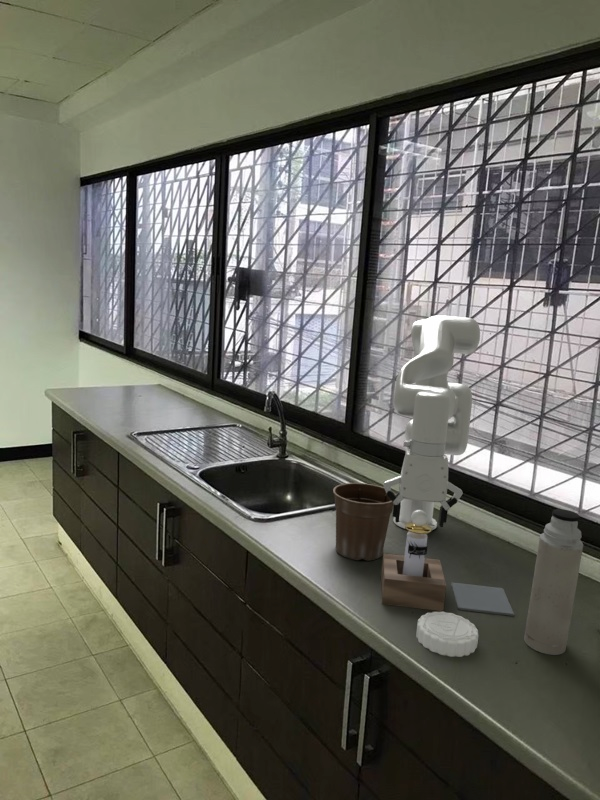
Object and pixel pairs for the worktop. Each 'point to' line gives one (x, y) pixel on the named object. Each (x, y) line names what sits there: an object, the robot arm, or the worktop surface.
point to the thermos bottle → (554, 584)
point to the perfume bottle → (416, 544)
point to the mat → (481, 599)
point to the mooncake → (447, 634)
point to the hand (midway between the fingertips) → (418, 522)
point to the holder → (412, 584)
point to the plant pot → (361, 520)
